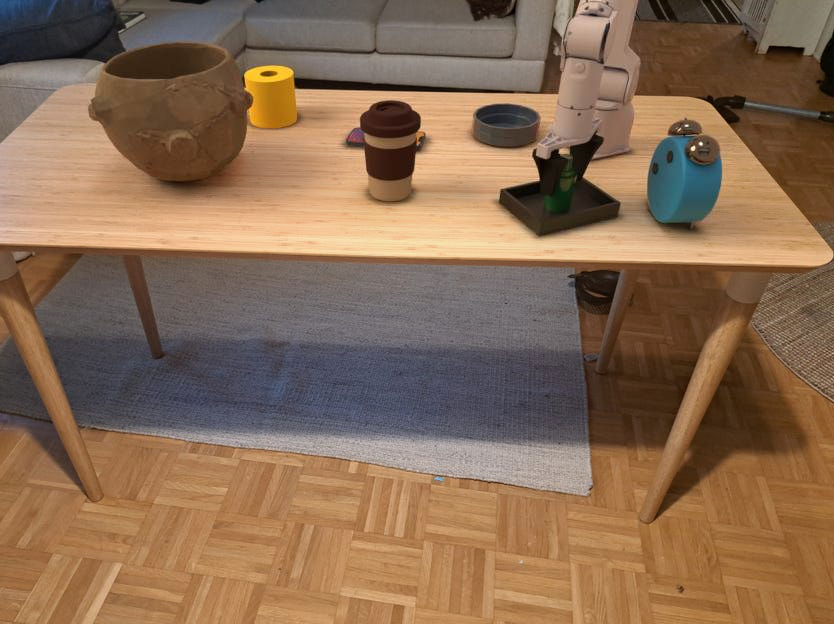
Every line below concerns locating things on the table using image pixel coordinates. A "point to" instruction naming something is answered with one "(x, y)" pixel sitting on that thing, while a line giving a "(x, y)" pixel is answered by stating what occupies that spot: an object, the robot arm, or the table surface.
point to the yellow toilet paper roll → (271, 96)
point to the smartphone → (358, 136)
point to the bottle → (563, 189)
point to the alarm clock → (684, 175)
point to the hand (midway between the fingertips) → (561, 186)
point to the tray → (584, 210)
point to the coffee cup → (390, 148)
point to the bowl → (173, 108)
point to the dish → (505, 124)
